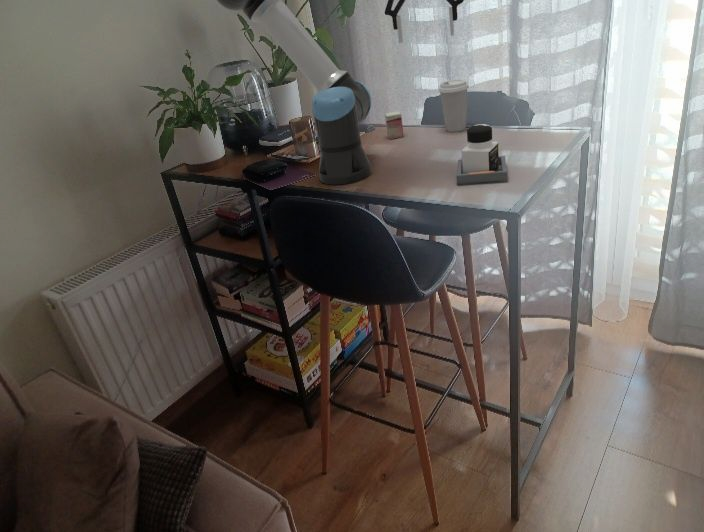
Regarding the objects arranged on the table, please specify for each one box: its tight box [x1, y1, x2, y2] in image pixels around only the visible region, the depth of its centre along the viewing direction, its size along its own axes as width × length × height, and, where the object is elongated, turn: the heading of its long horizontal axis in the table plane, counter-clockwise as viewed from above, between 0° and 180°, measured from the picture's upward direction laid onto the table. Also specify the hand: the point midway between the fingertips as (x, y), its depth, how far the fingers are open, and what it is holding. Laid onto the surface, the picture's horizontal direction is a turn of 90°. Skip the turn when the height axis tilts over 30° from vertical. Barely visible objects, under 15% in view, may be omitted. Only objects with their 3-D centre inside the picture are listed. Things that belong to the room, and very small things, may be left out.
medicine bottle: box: [461, 123, 500, 174], centre depth 131 cm, size 7×7×12 cm
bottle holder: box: [456, 155, 508, 186], centre depth 133 cm, size 12×12×3 cm
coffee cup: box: [438, 78, 469, 133], centre depth 169 cm, size 10×10×15 cm
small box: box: [384, 110, 405, 140], centre depth 174 cm, size 5×4×8 cm
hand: (426, 38), depth 138 cm, fingers open, 13 cm apart
